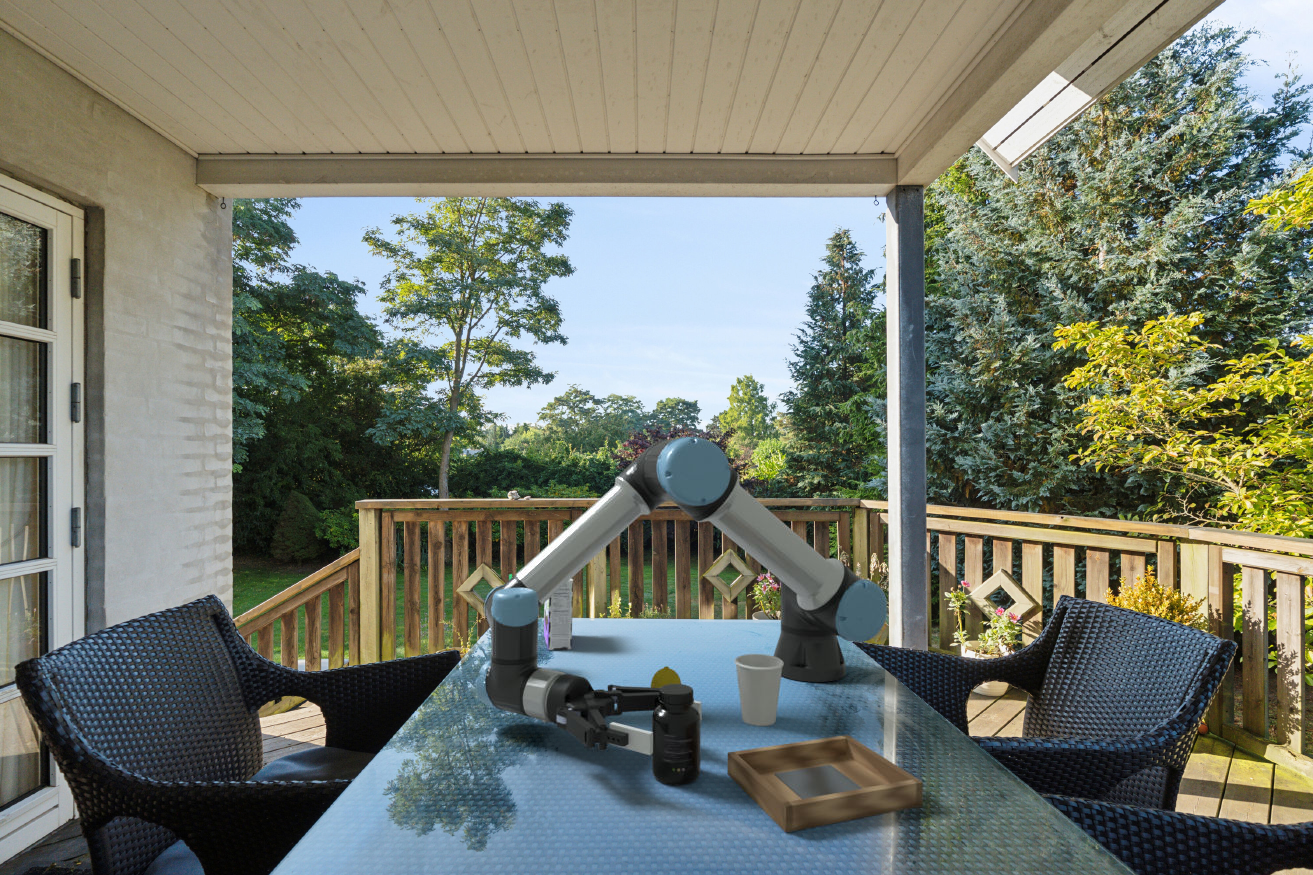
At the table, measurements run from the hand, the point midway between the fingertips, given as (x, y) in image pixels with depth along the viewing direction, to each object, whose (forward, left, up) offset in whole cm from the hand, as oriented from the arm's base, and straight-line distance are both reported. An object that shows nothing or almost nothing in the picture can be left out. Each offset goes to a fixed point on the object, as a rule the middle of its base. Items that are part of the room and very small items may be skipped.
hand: (677, 726), depth 95 cm
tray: (-17, +9, -7) cm, 21 cm away
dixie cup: (-21, -16, -7) cm, 27 cm away
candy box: (+2, -76, -7) cm, 76 cm away
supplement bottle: (0, -1, -7) cm, 7 cm away
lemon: (-7, -24, -7) cm, 26 cm away
